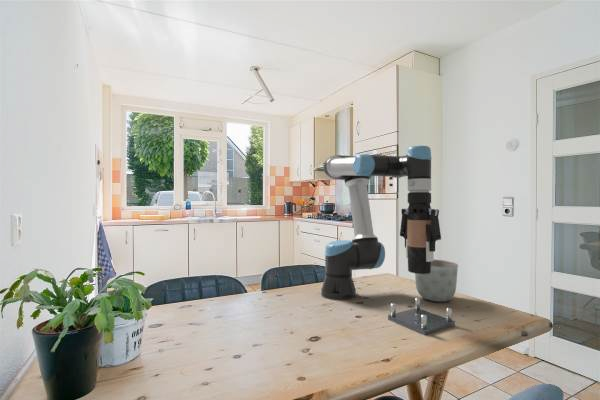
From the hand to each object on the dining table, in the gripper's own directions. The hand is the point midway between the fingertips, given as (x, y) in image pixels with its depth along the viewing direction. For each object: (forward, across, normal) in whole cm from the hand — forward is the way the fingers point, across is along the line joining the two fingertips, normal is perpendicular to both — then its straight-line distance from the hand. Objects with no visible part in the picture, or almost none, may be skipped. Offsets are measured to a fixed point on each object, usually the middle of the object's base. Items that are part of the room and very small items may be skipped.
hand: (419, 259), depth 108 cm
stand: (+21, 0, +1) cm, 21 cm away
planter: (+21, -15, +28) cm, 38 cm away
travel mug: (+4, 0, 0) cm, 4 cm away
